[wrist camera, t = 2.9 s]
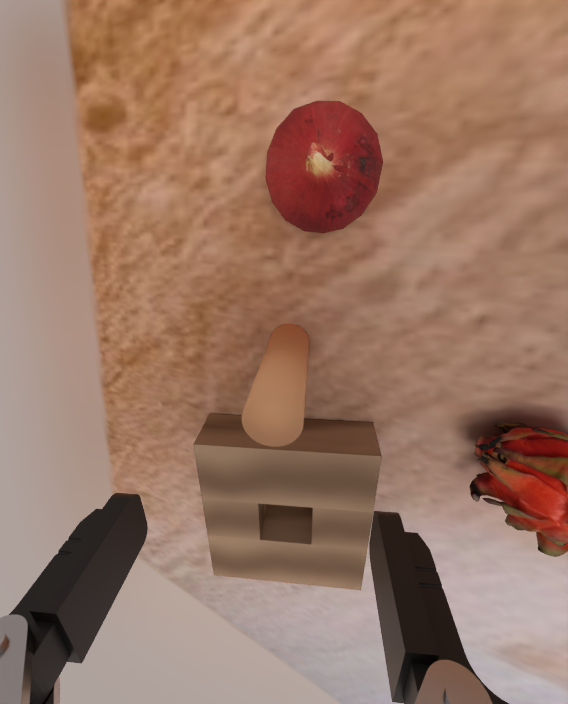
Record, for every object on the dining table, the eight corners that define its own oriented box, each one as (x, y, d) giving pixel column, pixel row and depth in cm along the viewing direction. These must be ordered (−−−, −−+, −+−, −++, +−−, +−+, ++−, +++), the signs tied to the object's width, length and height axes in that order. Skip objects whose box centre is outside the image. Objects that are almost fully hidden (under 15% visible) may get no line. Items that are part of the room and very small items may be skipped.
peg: (269, 323, 24) (239, 393, 15) (309, 324, 24) (304, 396, 15) (270, 359, 25) (243, 444, 16) (308, 360, 25) (302, 448, 16)
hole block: (209, 413, 28) (193, 444, 24) (372, 422, 27) (381, 456, 23) (224, 536, 34) (213, 575, 31) (356, 548, 33) (360, 590, 30)
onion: (379, 126, 18) (419, 72, 11) (360, 232, 21) (383, 246, 13) (279, 118, 19) (253, 60, 11) (271, 224, 21) (247, 232, 14)
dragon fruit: (559, 478, 29) (450, 403, 29) (688, 468, 22) (542, 369, 22) (554, 578, 25) (426, 491, 25) (713, 609, 17) (531, 485, 17)
